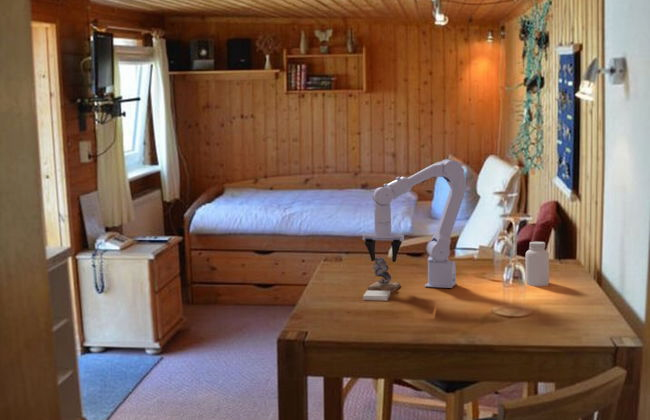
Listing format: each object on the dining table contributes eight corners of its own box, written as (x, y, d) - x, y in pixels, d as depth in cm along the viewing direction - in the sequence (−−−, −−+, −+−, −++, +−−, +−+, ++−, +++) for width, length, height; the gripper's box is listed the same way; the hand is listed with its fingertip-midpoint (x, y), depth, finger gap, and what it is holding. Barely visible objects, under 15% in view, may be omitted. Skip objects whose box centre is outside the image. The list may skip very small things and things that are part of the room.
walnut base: (400, 288, 279) (400, 282, 278) (392, 294, 270) (392, 287, 270) (376, 287, 282) (376, 281, 282) (367, 292, 274) (367, 286, 274)
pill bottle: (546, 282, 281) (546, 240, 280) (550, 287, 274) (551, 244, 272) (523, 282, 282) (523, 240, 281) (527, 287, 274) (527, 244, 273)
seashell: (385, 284, 272) (379, 255, 273) (374, 286, 276) (368, 258, 277) (395, 282, 276) (389, 254, 277) (384, 284, 280) (378, 256, 280)
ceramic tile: (390, 295, 269) (390, 290, 269) (387, 300, 261) (387, 296, 261) (367, 294, 270) (367, 290, 270) (363, 300, 263) (363, 295, 262)
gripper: (406, 221, 274) (407, 259, 276) (366, 220, 280) (367, 258, 281) (400, 223, 268) (401, 263, 269) (360, 222, 273) (361, 261, 275)
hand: (383, 261), depth 275 cm, fingers open, 7 cm apart
